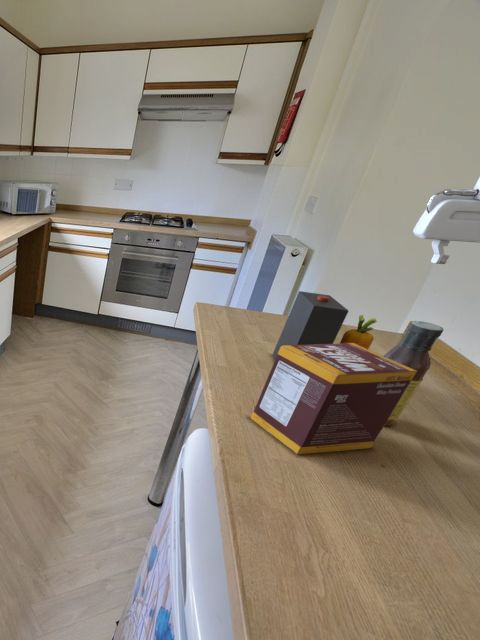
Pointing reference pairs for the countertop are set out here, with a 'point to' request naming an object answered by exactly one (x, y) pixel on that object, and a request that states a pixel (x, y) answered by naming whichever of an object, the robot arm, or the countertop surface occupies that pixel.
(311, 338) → the box with red knob
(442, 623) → the countertop surface
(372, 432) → the supplement box
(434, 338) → the sauce bottle
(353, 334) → the carrot
